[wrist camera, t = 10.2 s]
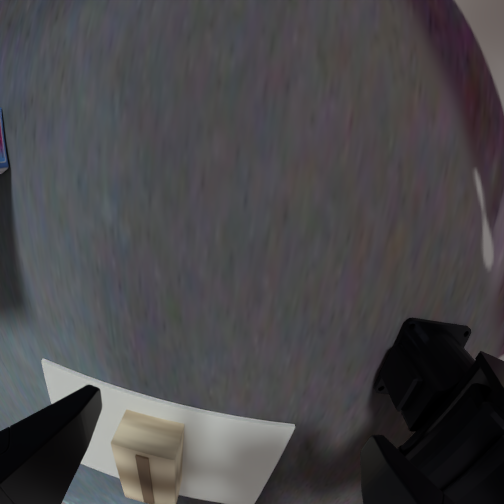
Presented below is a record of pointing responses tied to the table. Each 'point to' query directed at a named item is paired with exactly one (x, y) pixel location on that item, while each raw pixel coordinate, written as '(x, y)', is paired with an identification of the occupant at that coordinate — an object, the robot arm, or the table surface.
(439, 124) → the table surface
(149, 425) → the grooved beige block
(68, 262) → the table surface
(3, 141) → the ink cartridge box
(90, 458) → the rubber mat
